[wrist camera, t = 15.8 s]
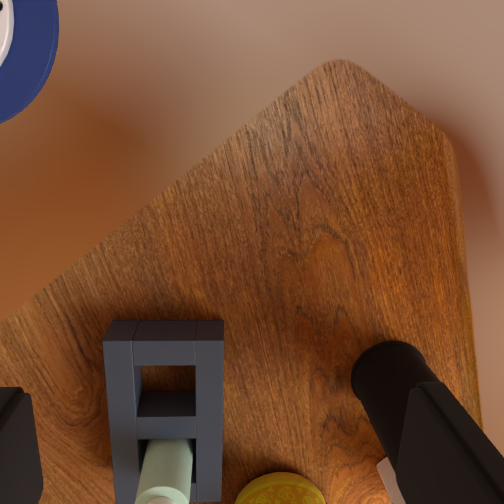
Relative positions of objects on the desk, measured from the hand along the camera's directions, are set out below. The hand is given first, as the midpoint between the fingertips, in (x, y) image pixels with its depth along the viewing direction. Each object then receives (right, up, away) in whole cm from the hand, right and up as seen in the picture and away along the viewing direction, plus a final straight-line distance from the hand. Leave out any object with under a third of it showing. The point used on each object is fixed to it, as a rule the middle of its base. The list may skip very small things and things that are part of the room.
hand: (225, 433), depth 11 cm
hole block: (-8, -11, +35) cm, 38 cm away
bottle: (-8, -15, +37) cm, 40 cm away
